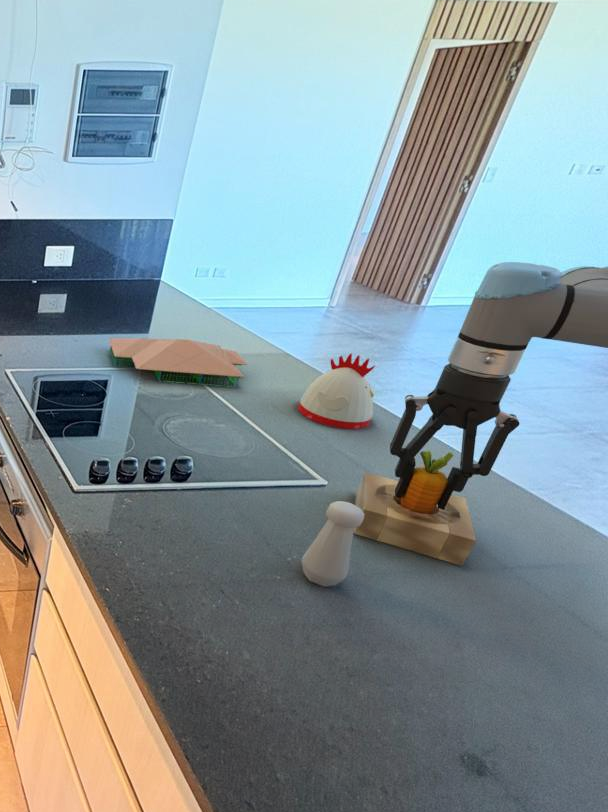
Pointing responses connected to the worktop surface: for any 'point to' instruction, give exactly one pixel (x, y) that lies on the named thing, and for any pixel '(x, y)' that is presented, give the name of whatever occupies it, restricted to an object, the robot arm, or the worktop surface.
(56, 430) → the worktop surface
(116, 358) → the house
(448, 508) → the holder
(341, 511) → the salt shaker
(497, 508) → the worktop surface
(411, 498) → the carrot
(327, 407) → the kitchen timer
